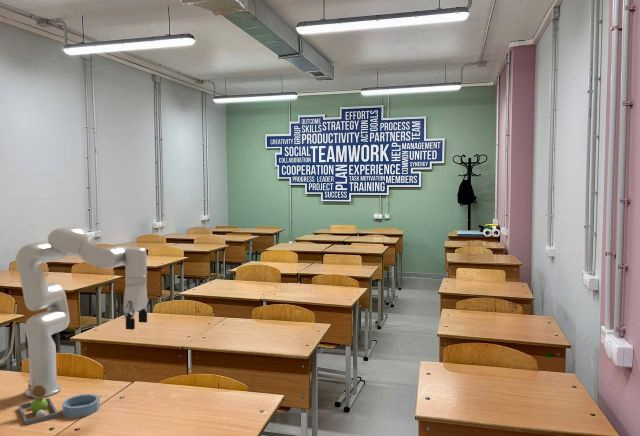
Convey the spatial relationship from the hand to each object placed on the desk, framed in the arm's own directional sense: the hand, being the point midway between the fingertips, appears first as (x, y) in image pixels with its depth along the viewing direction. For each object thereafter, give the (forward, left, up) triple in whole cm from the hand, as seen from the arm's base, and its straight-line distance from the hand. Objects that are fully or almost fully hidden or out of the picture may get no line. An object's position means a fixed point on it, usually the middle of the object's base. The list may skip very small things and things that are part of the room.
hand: (136, 325), depth 190 cm
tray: (-13, -31, -30) cm, 45 cm away
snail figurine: (-13, -31, -30) cm, 46 cm away
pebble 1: (-19, -31, -30) cm, 47 cm away
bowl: (-6, -18, -30) cm, 36 cm away
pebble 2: (-8, -31, -30) cm, 44 cm away
